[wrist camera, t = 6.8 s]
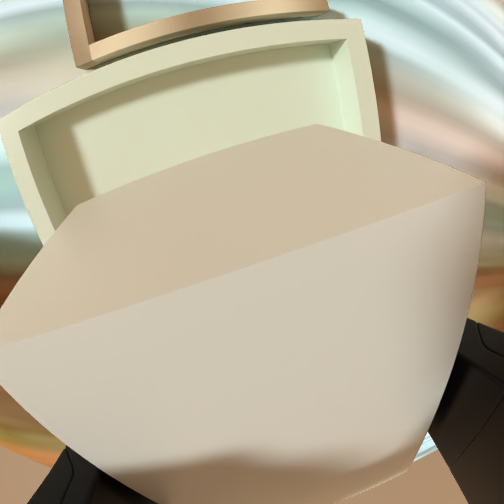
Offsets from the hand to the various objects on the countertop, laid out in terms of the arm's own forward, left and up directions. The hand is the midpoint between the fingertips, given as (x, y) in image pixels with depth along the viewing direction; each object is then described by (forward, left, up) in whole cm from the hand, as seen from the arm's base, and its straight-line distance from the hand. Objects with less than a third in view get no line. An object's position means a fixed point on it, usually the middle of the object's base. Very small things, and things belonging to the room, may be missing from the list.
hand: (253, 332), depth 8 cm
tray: (0, 0, -10) cm, 10 cm away
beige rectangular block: (0, 0, -1) cm, 1 cm away
